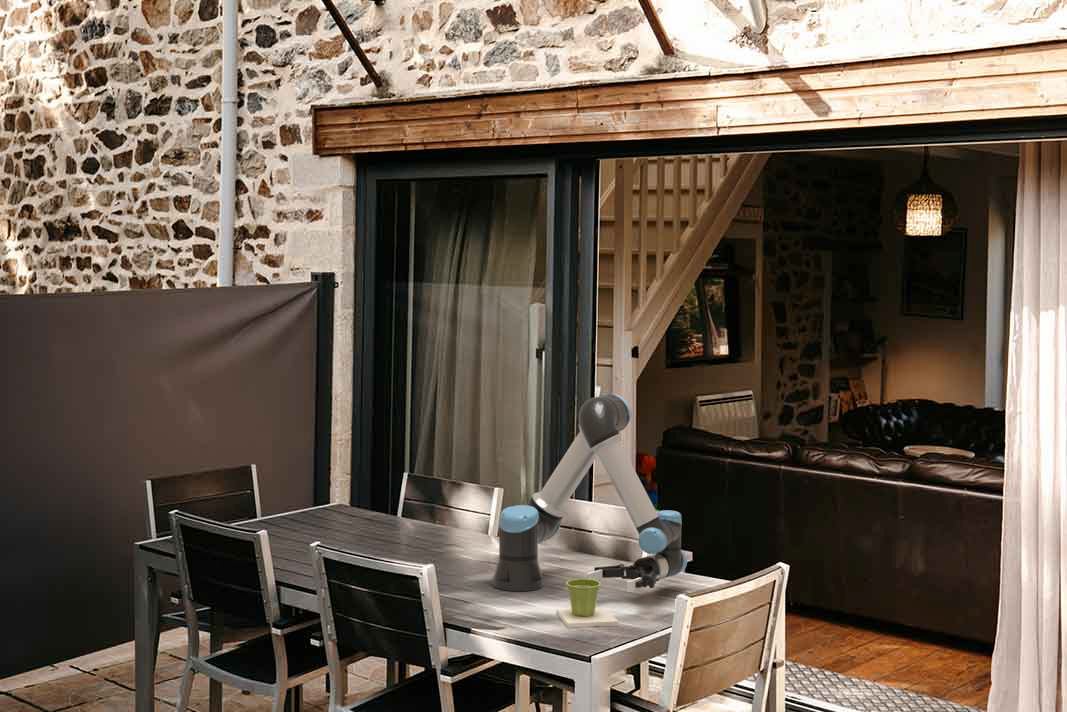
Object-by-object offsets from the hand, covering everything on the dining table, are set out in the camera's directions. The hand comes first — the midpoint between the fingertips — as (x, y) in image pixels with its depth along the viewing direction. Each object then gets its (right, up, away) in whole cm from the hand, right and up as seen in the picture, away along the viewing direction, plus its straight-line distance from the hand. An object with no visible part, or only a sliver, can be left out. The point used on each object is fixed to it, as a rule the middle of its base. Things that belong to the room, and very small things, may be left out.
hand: (607, 582), depth 348 cm
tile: (-6, -9, -7) cm, 13 cm away
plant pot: (-7, -8, -6) cm, 12 cm away
